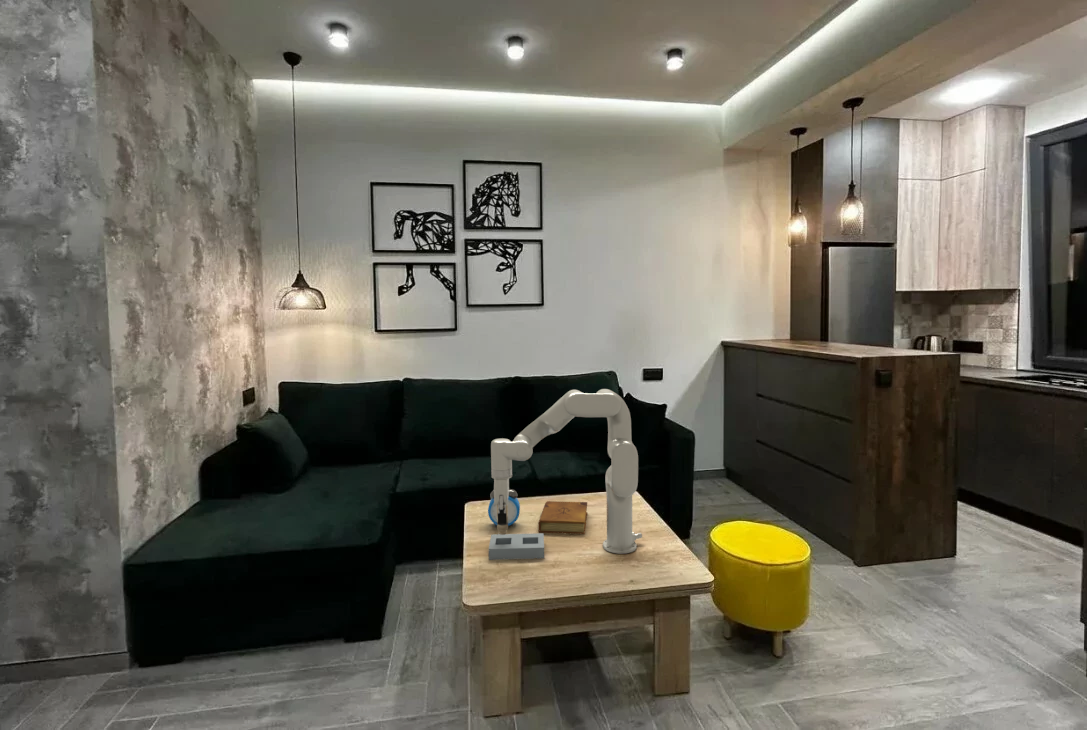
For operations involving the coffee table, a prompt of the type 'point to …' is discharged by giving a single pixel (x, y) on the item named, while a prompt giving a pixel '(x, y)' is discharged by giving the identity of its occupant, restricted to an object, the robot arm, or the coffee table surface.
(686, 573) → the coffee table surface
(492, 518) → the alarm clock
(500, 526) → the dowel
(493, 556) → the board
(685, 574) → the coffee table surface
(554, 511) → the diary
